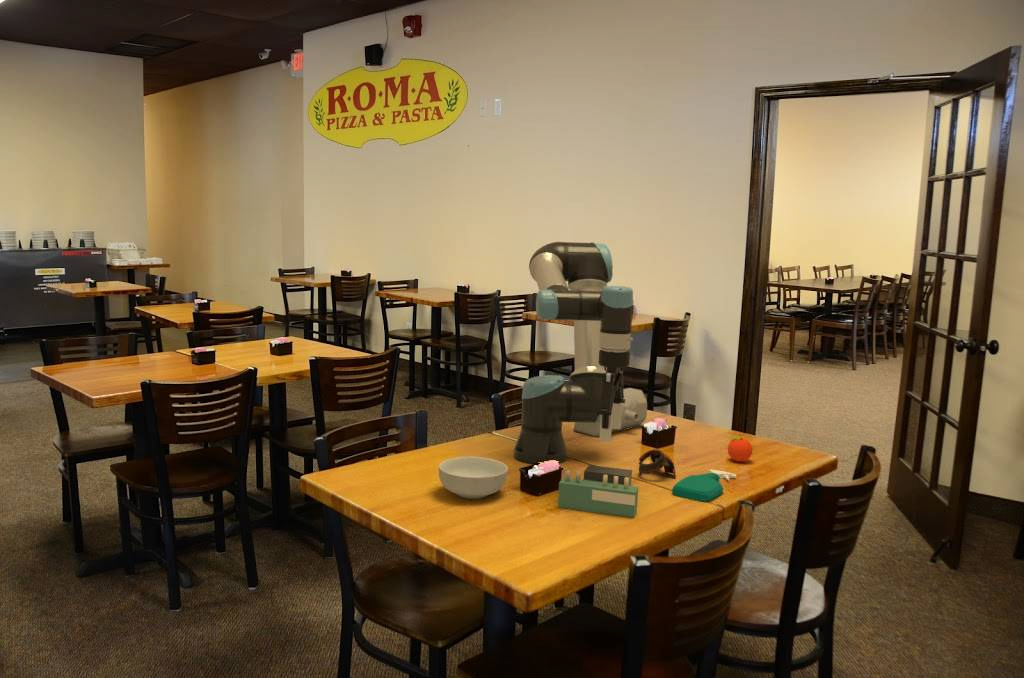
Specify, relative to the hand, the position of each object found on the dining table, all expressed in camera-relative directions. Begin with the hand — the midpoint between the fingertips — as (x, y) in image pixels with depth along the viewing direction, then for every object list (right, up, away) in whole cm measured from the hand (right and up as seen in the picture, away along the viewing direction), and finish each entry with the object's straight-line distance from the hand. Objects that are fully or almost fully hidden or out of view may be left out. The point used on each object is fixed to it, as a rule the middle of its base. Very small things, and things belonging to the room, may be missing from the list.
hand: (610, 434), depth 198 cm
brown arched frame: (+15, -14, +19) cm, 28 cm away
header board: (-4, -17, -9) cm, 19 cm away
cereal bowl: (-34, -15, -1) cm, 37 cm away
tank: (+10, -7, +66) cm, 67 cm away
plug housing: (-1, -15, +2) cm, 15 cm away
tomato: (+41, -12, +35) cm, 56 cm away
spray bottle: (+26, -15, +11) cm, 32 cm away
